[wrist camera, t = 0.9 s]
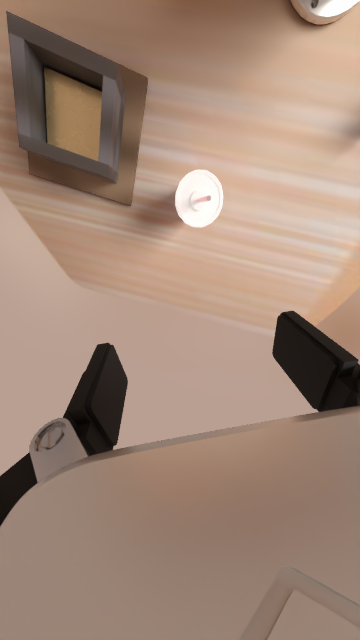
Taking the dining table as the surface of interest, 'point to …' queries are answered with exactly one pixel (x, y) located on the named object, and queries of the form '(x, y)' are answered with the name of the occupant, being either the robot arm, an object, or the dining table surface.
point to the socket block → (116, 111)
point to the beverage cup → (199, 198)
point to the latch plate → (72, 114)
